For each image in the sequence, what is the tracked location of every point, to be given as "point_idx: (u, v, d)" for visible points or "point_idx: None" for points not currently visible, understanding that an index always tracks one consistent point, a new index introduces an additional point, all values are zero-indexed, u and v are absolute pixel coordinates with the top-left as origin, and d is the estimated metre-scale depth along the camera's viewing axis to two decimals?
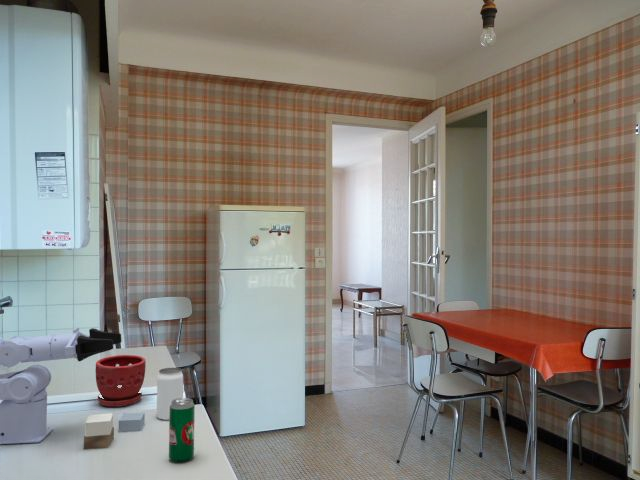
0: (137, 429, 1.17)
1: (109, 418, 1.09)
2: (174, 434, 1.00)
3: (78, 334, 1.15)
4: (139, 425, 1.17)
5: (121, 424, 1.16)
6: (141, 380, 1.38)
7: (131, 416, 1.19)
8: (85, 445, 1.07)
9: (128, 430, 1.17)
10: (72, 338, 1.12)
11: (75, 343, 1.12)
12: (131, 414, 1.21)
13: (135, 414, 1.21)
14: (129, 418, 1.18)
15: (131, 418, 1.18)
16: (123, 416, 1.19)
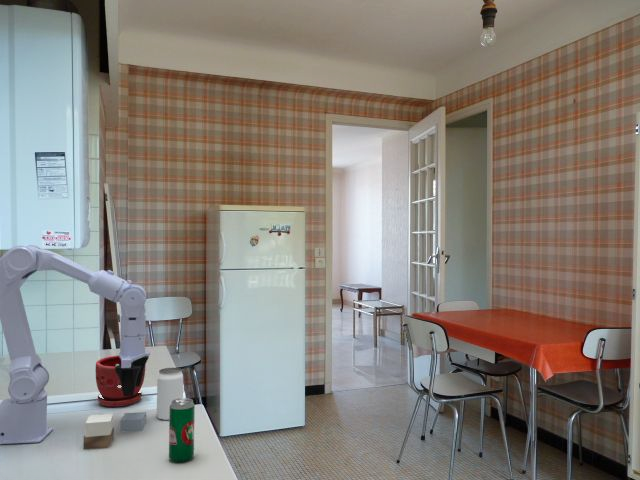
0: (139, 428, 1.17)
1: (109, 418, 1.09)
2: (174, 434, 1.00)
3: None
4: (141, 424, 1.17)
5: (122, 424, 1.17)
6: (141, 380, 1.38)
7: (132, 415, 1.20)
8: (85, 445, 1.07)
9: (130, 429, 1.17)
10: (139, 357, 1.17)
11: None
12: (132, 414, 1.21)
13: (136, 413, 1.21)
14: (130, 418, 1.18)
15: (132, 417, 1.19)
16: (124, 416, 1.20)
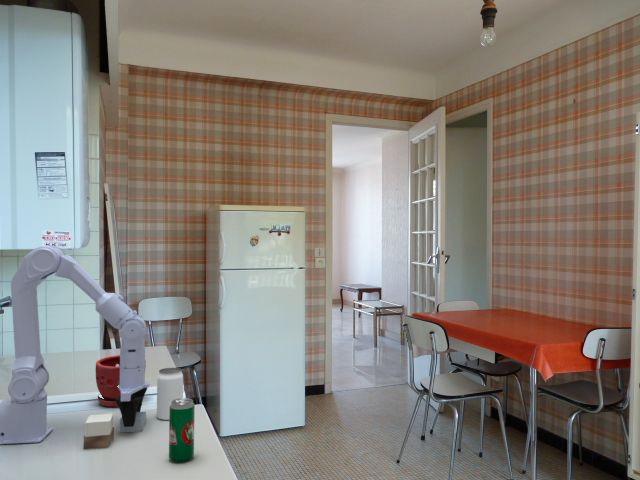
0: (138, 428, 1.17)
1: (109, 418, 1.09)
2: (174, 434, 1.00)
3: None
4: (140, 424, 1.17)
5: (122, 423, 1.16)
6: None
7: None
8: (85, 445, 1.07)
9: (129, 429, 1.17)
10: (138, 389, 1.17)
11: None
12: None
13: (136, 413, 1.21)
14: None
15: None
16: None
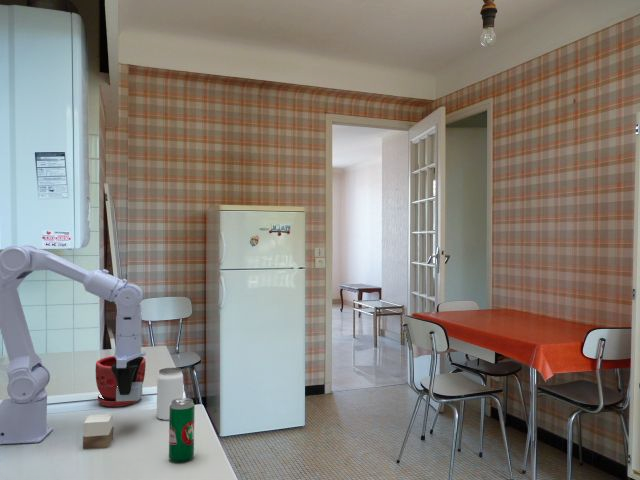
0: (135, 397, 1.16)
1: (107, 418, 1.09)
2: (174, 434, 1.00)
3: None
4: (137, 393, 1.16)
5: (118, 392, 1.15)
6: (141, 380, 1.38)
7: None
8: (84, 445, 1.07)
9: (126, 398, 1.15)
10: (134, 357, 1.15)
11: None
12: None
13: (133, 383, 1.19)
14: None
15: None
16: None
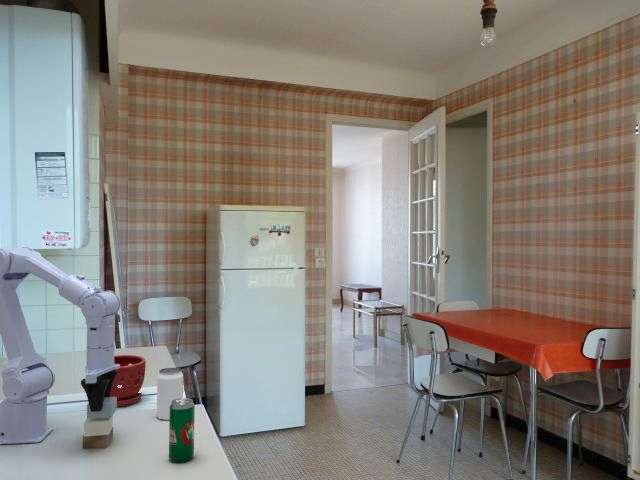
0: (107, 414, 1.08)
1: (107, 418, 1.09)
2: (174, 434, 1.00)
3: None
4: (110, 410, 1.08)
5: (89, 409, 1.07)
6: (141, 380, 1.38)
7: None
8: (84, 445, 1.07)
9: (97, 415, 1.07)
10: (106, 370, 1.07)
11: None
12: None
13: (106, 398, 1.11)
14: None
15: None
16: None
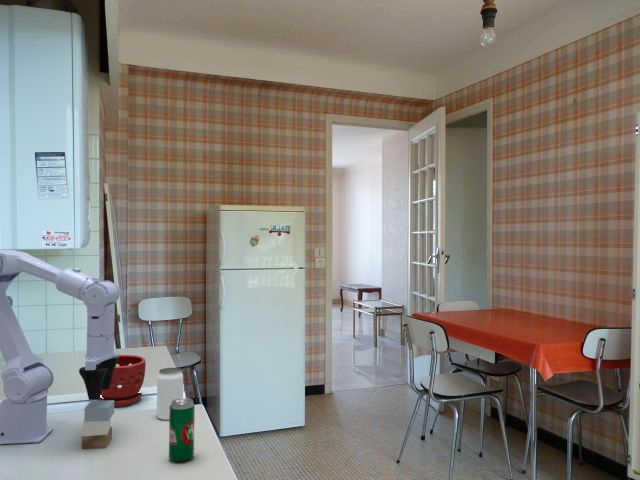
0: (105, 417, 1.07)
1: None
2: (174, 434, 1.00)
3: None
4: (107, 413, 1.08)
5: (87, 412, 1.07)
6: (141, 380, 1.38)
7: (99, 403, 1.10)
8: (83, 445, 1.07)
9: (95, 418, 1.07)
10: (106, 358, 1.09)
11: None
12: (99, 402, 1.11)
13: (103, 402, 1.11)
14: (96, 406, 1.08)
15: (98, 405, 1.09)
16: (90, 403, 1.10)
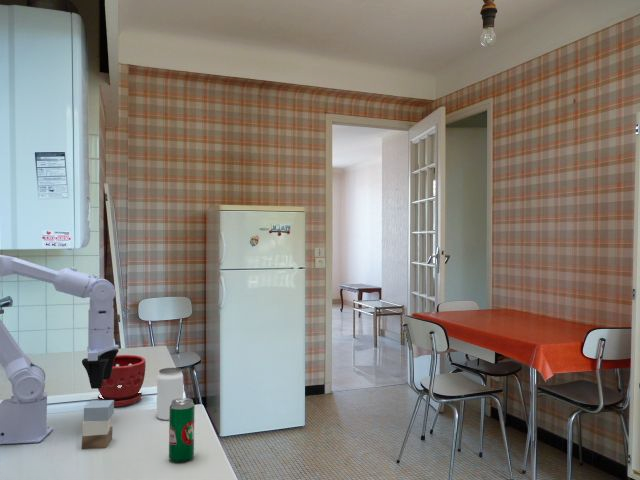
0: (104, 417, 1.07)
1: None
2: (174, 434, 1.00)
3: None
4: (106, 413, 1.08)
5: (86, 412, 1.07)
6: (141, 380, 1.38)
7: (98, 403, 1.10)
8: (83, 445, 1.07)
9: (94, 418, 1.07)
10: (106, 350, 1.17)
11: None
12: (99, 401, 1.11)
13: (103, 401, 1.11)
14: (95, 406, 1.08)
15: (98, 405, 1.09)
16: (90, 403, 1.10)
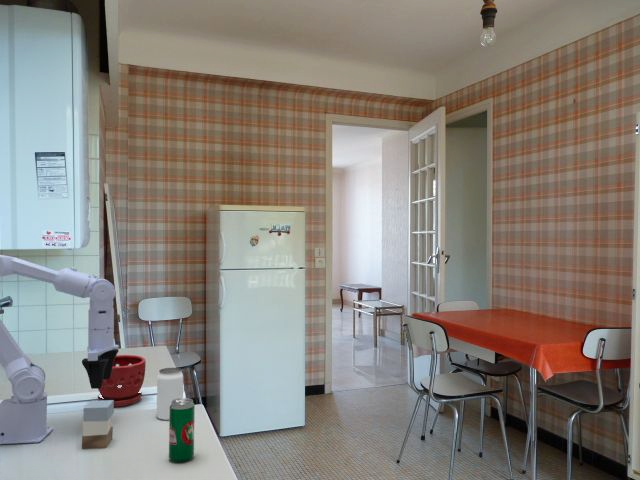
0: (104, 417, 1.07)
1: None
2: (174, 434, 1.00)
3: None
4: (106, 413, 1.07)
5: (86, 412, 1.07)
6: (141, 380, 1.38)
7: (98, 403, 1.10)
8: (83, 445, 1.07)
9: (94, 418, 1.07)
10: (106, 350, 1.17)
11: None
12: (98, 401, 1.11)
13: (103, 402, 1.11)
14: (95, 406, 1.08)
15: (98, 405, 1.09)
16: (89, 403, 1.10)
